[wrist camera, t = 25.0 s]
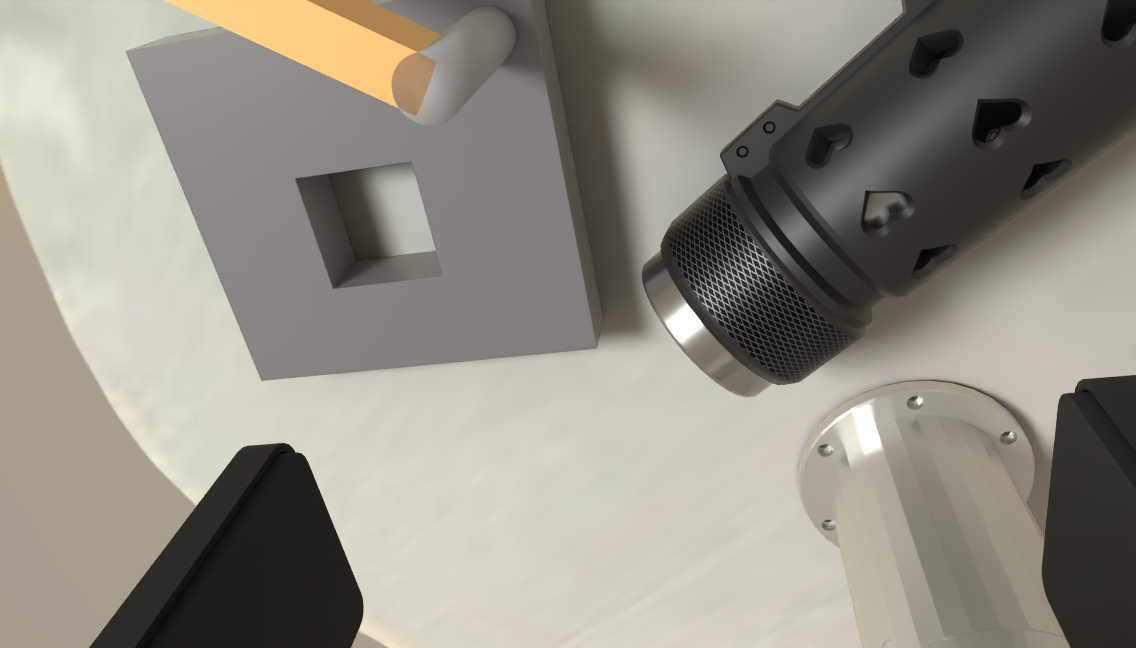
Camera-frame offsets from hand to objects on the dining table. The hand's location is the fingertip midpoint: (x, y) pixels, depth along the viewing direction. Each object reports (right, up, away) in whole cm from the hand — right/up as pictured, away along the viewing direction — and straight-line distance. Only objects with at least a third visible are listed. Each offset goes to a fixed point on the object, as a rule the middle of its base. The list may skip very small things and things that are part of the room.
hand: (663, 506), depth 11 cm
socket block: (-10, +10, +33) cm, 36 cm away
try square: (-11, +17, +25) cm, 32 cm away
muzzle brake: (+11, +15, +23) cm, 30 cm away
